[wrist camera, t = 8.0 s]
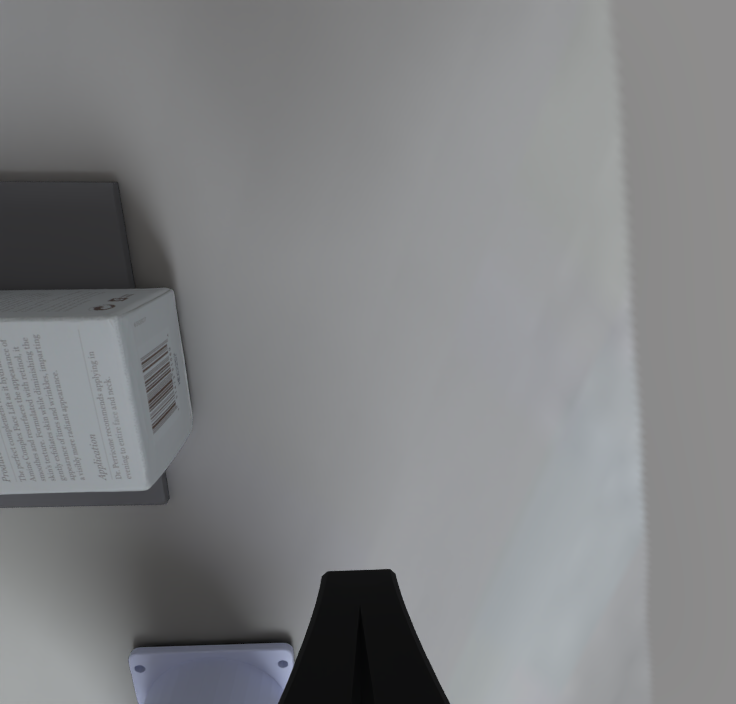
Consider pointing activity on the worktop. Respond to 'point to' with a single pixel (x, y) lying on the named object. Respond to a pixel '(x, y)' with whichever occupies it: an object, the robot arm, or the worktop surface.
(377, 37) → the worktop surface
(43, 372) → the skincare box
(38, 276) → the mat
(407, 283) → the worktop surface
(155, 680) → the robot arm
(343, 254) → the worktop surface
